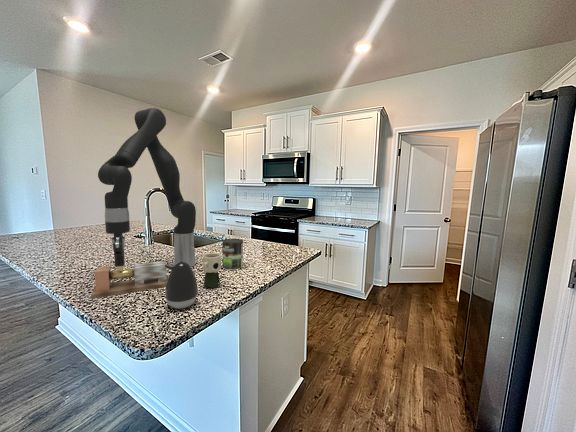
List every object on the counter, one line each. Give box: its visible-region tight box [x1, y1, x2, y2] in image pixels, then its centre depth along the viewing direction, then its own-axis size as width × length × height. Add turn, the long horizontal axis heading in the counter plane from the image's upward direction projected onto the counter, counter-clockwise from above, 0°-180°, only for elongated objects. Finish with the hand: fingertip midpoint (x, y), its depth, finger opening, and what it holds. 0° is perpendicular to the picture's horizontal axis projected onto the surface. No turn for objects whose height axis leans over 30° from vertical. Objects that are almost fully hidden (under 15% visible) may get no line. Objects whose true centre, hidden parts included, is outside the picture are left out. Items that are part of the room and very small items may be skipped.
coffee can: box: [221, 238, 244, 271], centre depth 124 cm, size 10×10×14 cm
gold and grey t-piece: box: [109, 249, 135, 281], centre depth 94 cm, size 13×3×11 cm, turn 121°
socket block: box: [94, 265, 112, 292], centre depth 92 cm, size 4×6×8 cm, turn 31°
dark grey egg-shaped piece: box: [164, 262, 199, 310], centre depth 83 cm, size 10×10×15 cm
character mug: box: [202, 252, 222, 289], centre depth 100 cm, size 11×7×13 cm, turn 166°
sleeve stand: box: [90, 260, 169, 300], centre depth 96 cm, size 25×10×8 cm, turn 121°
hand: (119, 264), depth 94 cm, fingers closed on gold and grey t-piece, 2 cm apart
